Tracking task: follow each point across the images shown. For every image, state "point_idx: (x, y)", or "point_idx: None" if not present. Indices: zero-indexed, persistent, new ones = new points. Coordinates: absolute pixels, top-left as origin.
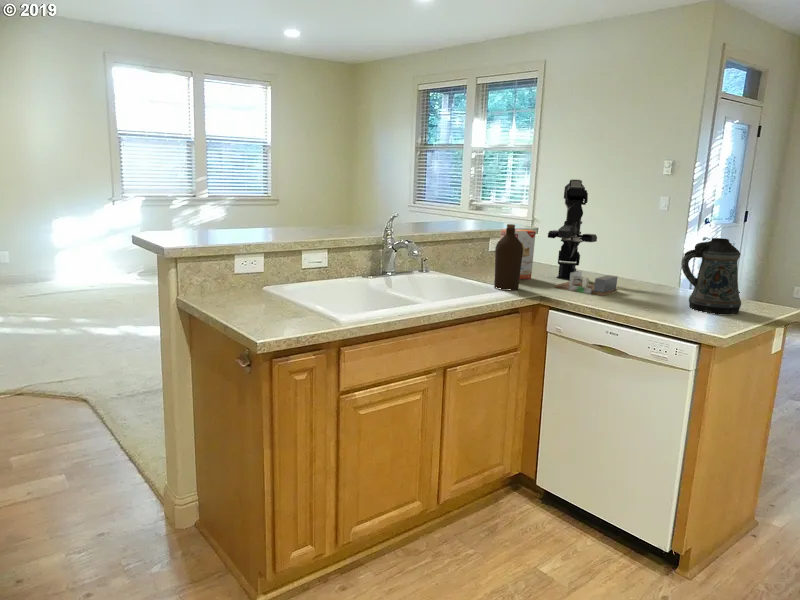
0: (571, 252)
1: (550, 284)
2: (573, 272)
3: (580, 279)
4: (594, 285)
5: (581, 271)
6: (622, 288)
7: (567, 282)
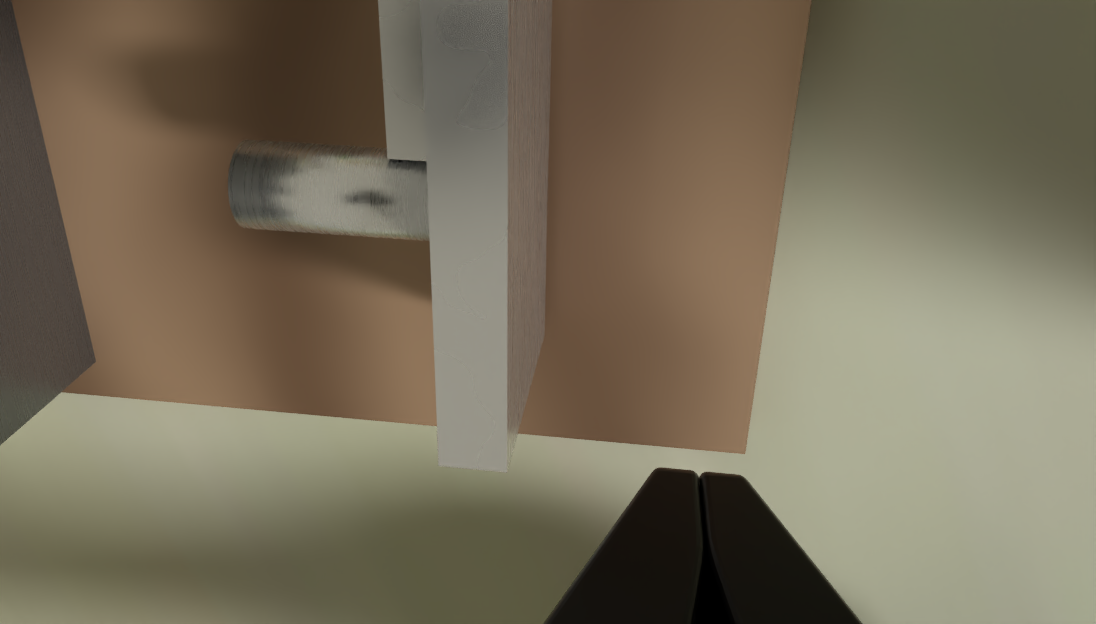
0: (585, 588)
1: (1027, 91)
2: (459, 80)
3: (363, 148)
4: (291, 383)
5: (439, 443)
6: (75, 589)
7: (739, 312)
